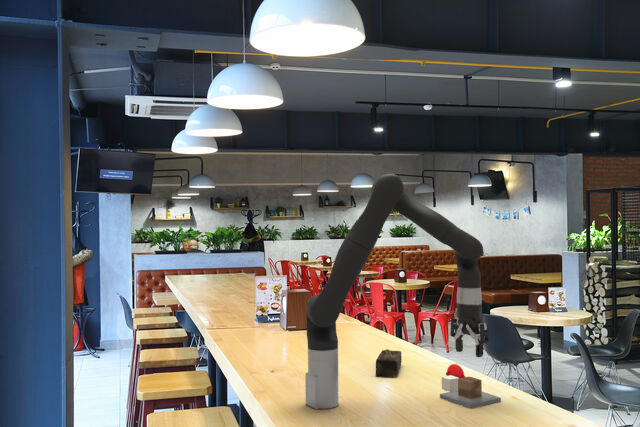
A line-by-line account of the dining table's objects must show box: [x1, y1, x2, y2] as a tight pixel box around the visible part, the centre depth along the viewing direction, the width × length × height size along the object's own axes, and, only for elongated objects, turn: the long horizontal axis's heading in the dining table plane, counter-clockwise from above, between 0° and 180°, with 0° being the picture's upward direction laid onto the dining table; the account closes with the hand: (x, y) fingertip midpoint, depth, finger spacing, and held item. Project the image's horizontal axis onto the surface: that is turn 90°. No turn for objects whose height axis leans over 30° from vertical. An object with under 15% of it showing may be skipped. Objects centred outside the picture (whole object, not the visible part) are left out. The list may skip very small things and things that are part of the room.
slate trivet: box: [439, 390, 502, 409], centre depth 187 cm, size 13×13×1 cm
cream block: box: [441, 375, 459, 392], centre depth 199 cm, size 4×4×4 cm
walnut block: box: [458, 376, 483, 399], centre depth 187 cm, size 5×5×5 cm
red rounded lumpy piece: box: [445, 363, 466, 378], centre depth 207 cm, size 8×6×6 cm
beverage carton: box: [375, 348, 402, 379], centre depth 224 cm, size 8×19×7 cm, turn 167°
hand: (469, 354), depth 187 cm, fingers open, 8 cm apart
